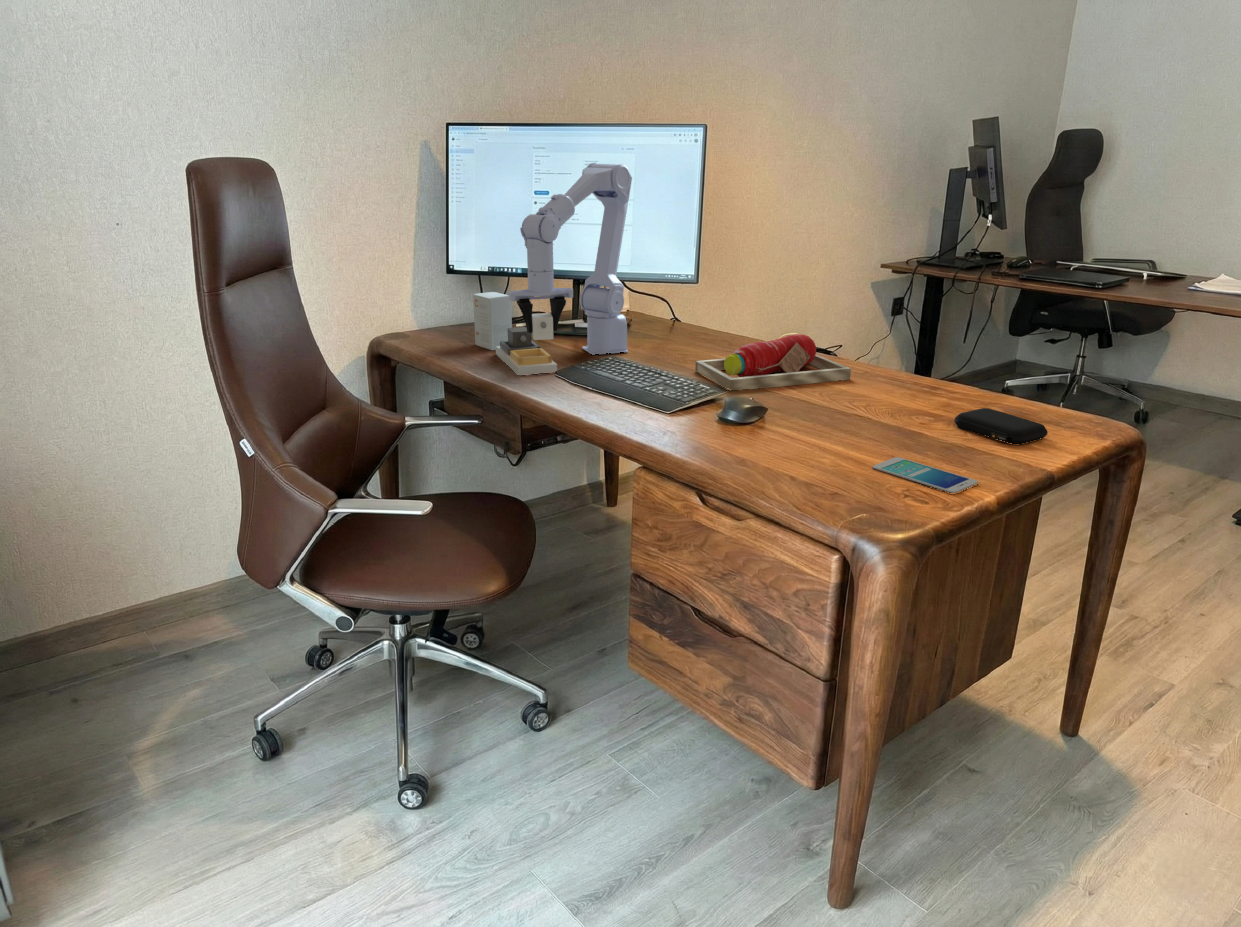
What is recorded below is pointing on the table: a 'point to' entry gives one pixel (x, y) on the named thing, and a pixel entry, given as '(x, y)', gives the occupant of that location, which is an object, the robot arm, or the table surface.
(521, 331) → the twin plug
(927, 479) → the smartphone
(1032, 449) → the table surface
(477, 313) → the small box
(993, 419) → the carrying case or bag
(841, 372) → the desk tray
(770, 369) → the water bottle
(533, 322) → the plug
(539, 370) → the white base platform
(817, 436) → the table surface
